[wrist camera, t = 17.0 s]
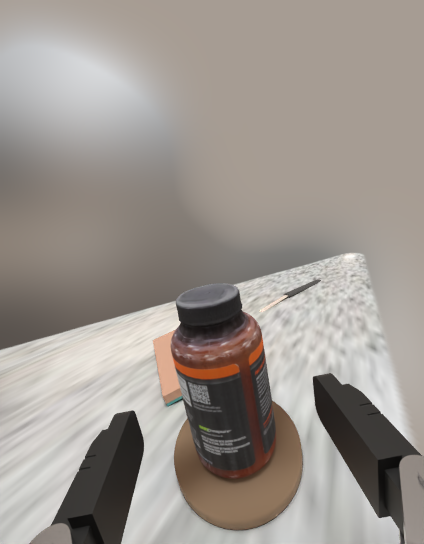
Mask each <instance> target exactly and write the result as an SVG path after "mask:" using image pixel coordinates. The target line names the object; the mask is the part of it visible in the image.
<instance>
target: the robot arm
mask: <svg viewBox="0 0 424 544" xmlns="http://www.w3.org/2000/svg"><path fill="white" fill-rule="evenodd" d="M313 386H314V397H315V406H316V410H317V413H318V416H319V418H320V420H321V422H322V424H323V426H324V427H325V429H326V431H327V432H328V434H329V436H330V437H331V439H332V441H333V442H334V444H335V446H336V447H337V449H338V451H339V452H340V454H341V456H342V457H343V459H344V461H345V462H346V464H347V466H348V467H349V469H350V471H351V472H352V474H353V476H354V477H355V479H356V481H357V482H358V484H359V486H360V487H361V489H362V491H363V492H364V494H365V496H366V497H367V499H368V501H369V502H370V504H371V506H372V507H373V509H374V511H375V512H376V514H377V516H378V517H379V518H382V517H388V516H391V517H392V519H393V520H394V522H395V523H396V525H397V527H398V528H399V540H400V544H424V456H422V455H421V454H420V453H419V452H418V451H417V450H416V449H415V448H414V447H413V446H412V445H411V444H410V443H409V442H408V441H407V440H406V439H405V437H404V436H403V435H402V434H401V433H400V432H399V431H398V430H397V429H396V428H395V427H394V426H393V425H392V424H391V423H390V422H389V420H388V419H387V418H386V417H385V416H384V415H383V414H381V413H380V411H379V410H378V409H377V408H376V407H375V406H374V405H372V402H371V401H370V400H369V399H368V398H367V397H366V396H365V395H364V394H363V393H362V392H361V391H359V390H358V389H356V388H354V387H353V386H351V385H350V384H344V385H342V384H341V383H340V382H339V381H338V380H337V379H336V377H335V376H334V375H333V374H331V373H329V374H324V375H319V376H314V377H313ZM143 452H144V440H143V436H142V433H141V429H140V426H139V423H138V420H137V417H136V414H135V412H134V411H128V412H123V413H117V414H115V415H114V417H113V419H112V421H111V423H110V425H109V428H108V429H106V430H102V432H101V433H100V434H99V435H98V436H97V437H96V439H95V440H94V441H93V442H92V444H91V446H90V448H89V450H88V452H87V454H86V456H85V460H83V462H82V464H81V466H80V468H79V472H77V474H76V476H75V478H74V480H73V482H72V484H71V486H70V488H69V490H68V492H67V494H66V496H65V498H64V500H63V502H62V504H61V506H60V508H59V510H58V512H57V514H56V516H55V518H54V520H53V522H52V524H51V526H50V527H48V528H46V529H45V530H43V531H42V532H41V533H39V534H38V535H37V536H36V537H35V538H34V539H33V540H32V541H31V542H30V543H29V544H121V541H122V537H123V533H124V529H125V525H126V521H127V517H128V513H129V509H130V505H131V501H132V497H133V493H134V489H135V485H136V481H137V477H138V473H139V469H140V465H141V461H142V457H143Z"/></svg>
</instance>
